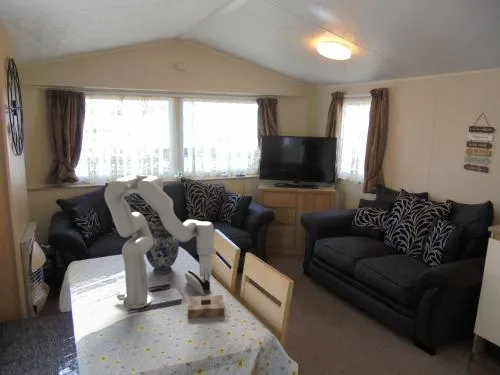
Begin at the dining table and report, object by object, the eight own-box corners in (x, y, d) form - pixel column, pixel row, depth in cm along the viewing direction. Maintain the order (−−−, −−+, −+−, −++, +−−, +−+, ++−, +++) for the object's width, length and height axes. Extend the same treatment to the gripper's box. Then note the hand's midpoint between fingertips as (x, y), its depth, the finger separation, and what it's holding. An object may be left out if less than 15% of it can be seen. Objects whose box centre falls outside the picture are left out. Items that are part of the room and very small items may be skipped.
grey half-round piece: (211, 292, 193) (205, 276, 189) (203, 297, 190) (197, 281, 186) (195, 280, 206) (189, 265, 202) (188, 285, 204) (182, 270, 200)
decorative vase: (188, 269, 219) (186, 222, 213) (164, 281, 204) (162, 231, 198) (161, 261, 230) (158, 216, 225) (137, 272, 215) (134, 224, 209)
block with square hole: (187, 318, 168) (187, 310, 167) (188, 304, 180) (188, 296, 179) (224, 316, 170) (224, 307, 170) (222, 302, 182) (222, 295, 181)
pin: (203, 293, 172) (202, 273, 170) (203, 290, 174) (202, 270, 173) (210, 293, 172) (209, 272, 170) (209, 290, 175) (209, 269, 173)
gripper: (196, 243, 177) (197, 280, 180) (196, 256, 161) (198, 297, 164) (213, 242, 178) (213, 279, 181) (214, 255, 162) (215, 296, 165)
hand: (206, 287), depth 173 cm, fingers closed on pin, 3 cm apart
